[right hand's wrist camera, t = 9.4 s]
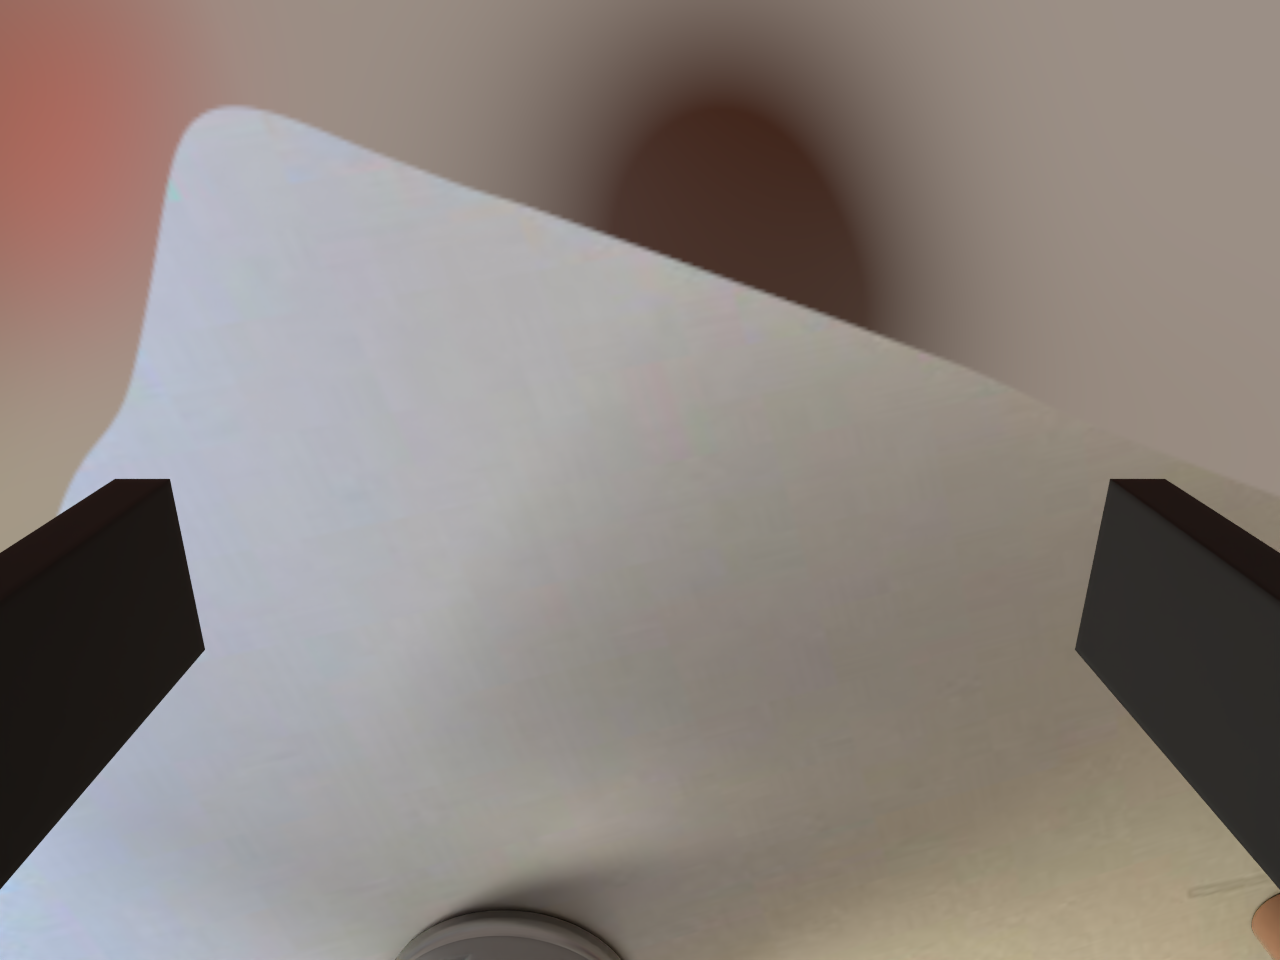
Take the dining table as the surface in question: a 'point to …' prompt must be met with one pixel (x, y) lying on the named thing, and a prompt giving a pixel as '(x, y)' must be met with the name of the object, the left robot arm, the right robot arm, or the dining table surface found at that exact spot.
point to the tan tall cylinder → (1268, 926)
